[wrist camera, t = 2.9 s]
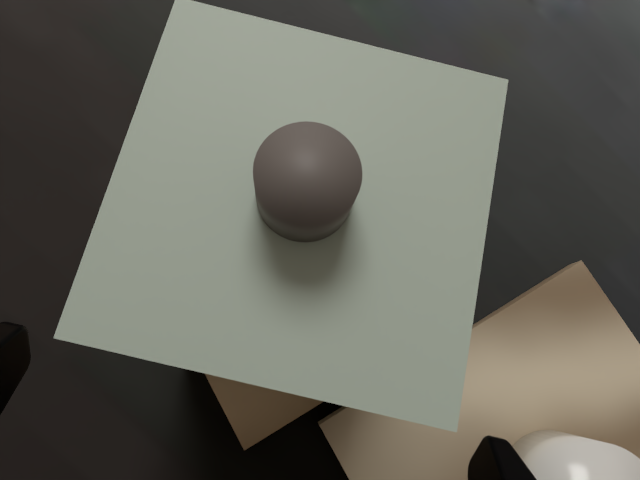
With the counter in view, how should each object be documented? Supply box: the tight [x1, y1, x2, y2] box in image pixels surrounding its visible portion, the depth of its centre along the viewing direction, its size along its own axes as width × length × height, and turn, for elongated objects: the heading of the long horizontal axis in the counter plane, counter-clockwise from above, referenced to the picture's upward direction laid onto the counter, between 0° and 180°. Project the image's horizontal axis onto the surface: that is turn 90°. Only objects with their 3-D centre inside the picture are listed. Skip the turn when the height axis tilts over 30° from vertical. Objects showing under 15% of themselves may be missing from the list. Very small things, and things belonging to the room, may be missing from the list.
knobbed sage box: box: [54, 0, 508, 432], centre depth 14 cm, size 7×7×13 cm
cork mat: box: [204, 373, 324, 451], centre depth 21 cm, size 9×9×1 cm
